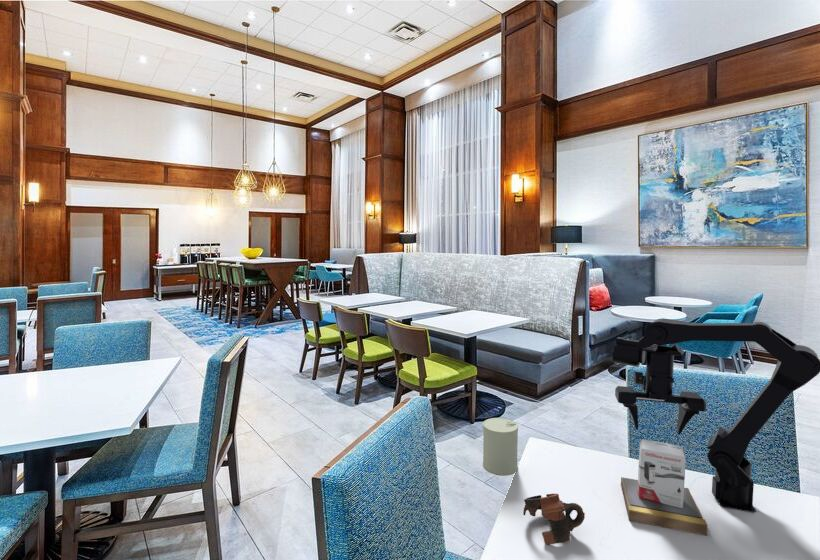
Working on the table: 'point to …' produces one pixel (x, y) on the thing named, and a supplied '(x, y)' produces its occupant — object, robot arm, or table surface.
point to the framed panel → (662, 510)
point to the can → (500, 446)
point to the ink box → (661, 472)
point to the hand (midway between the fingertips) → (657, 431)
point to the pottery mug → (555, 516)
